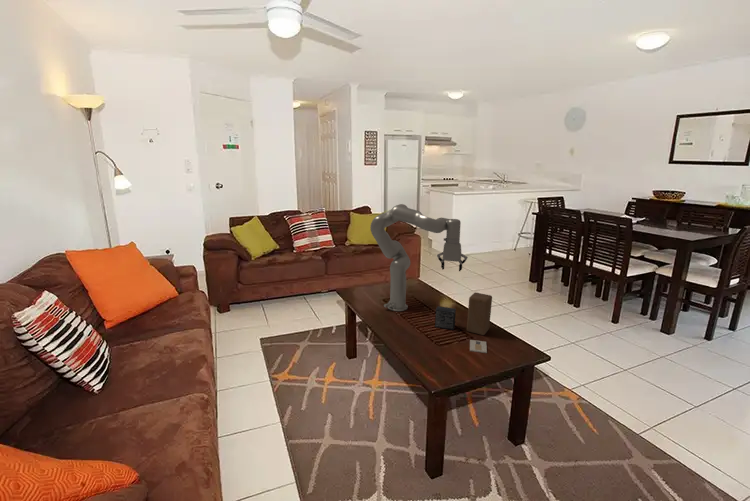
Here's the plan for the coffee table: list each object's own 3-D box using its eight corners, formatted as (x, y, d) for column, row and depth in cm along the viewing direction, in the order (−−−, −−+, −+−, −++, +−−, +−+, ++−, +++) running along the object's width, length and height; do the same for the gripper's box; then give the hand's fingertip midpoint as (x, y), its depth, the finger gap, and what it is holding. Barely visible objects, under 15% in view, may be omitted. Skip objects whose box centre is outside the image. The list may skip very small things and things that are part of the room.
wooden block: (484, 336, 204) (487, 300, 199) (465, 331, 209) (468, 296, 204) (489, 329, 212) (492, 295, 207) (471, 325, 217) (474, 291, 212)
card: (469, 351, 188) (469, 349, 188) (469, 340, 198) (470, 339, 198) (486, 353, 186) (486, 351, 186) (486, 342, 196) (486, 341, 196)
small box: (455, 325, 216) (456, 308, 213) (453, 330, 210) (454, 312, 207) (436, 322, 219) (437, 305, 217) (434, 327, 213) (435, 309, 211)
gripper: (436, 241, 217) (435, 270, 222) (467, 243, 212) (465, 273, 216) (438, 238, 224) (437, 266, 228) (469, 240, 219) (467, 269, 223)
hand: (451, 269), depth 222 cm, fingers open, 9 cm apart
